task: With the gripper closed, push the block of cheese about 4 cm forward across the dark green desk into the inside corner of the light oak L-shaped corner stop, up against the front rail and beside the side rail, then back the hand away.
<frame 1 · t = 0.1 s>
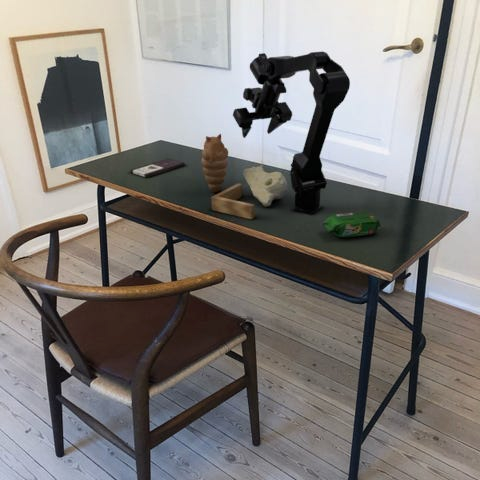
hand: (256, 134, 171), 15 cm above the table, tool tilted 30°, fingers open, 9 cm apart
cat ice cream: (215, 192, 170), on the table
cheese: (260, 199, 164), on the table
snack package: (350, 234, 141), on the table
chocolate bar: (158, 169, 191), on the table
corner stop: (244, 206, 158), on the table
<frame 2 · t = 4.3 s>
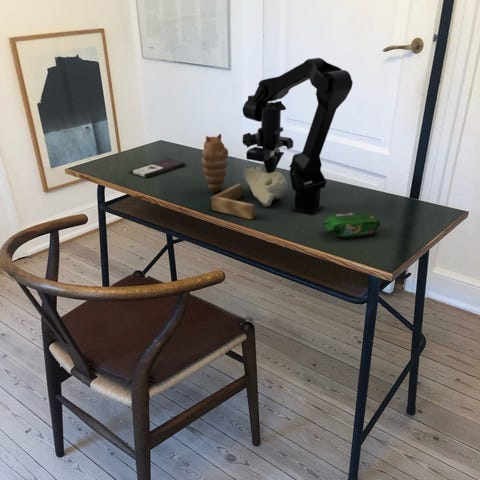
hand: (270, 176, 165), 5 cm above the table, tool pointing down, fingers closed
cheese: (260, 199, 164), on the table, touching gripper
everything else where it was.
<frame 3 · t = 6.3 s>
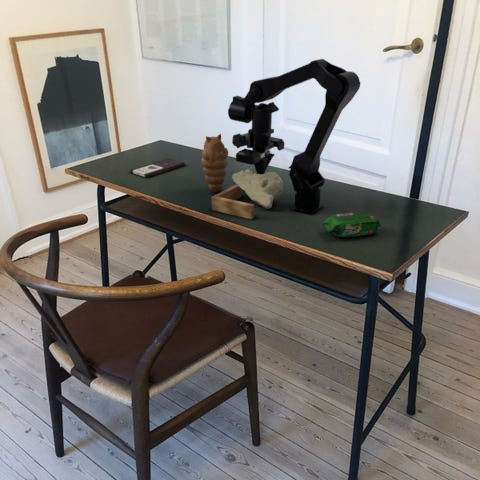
hand: (259, 177, 162), 6 cm above the table, tool pointing down, fingers closed
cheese: (256, 202, 162), on the table, touching gripper
everything else where it was.
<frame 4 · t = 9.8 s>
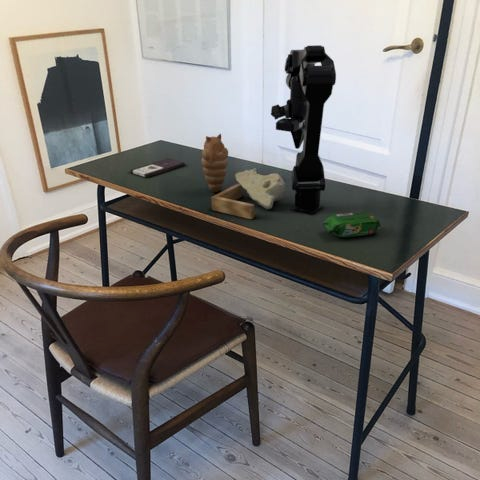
hand: (297, 148, 167), 12 cm above the table, tool pointing down, fingers closed
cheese: (256, 202, 162), on the table
everything else where it was.
at the end: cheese 2.0 cm from the target spot, on the table; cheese moved 3.0 cm from its start; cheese tilted 0° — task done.
